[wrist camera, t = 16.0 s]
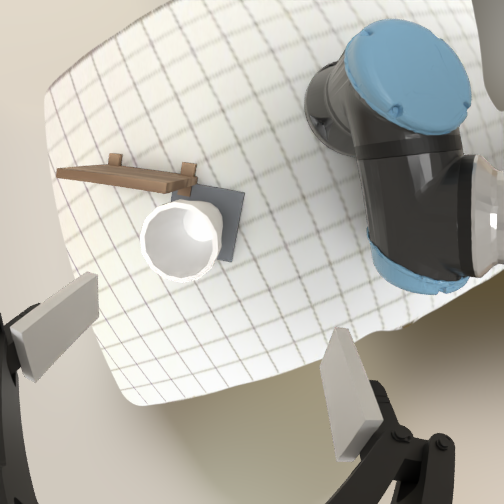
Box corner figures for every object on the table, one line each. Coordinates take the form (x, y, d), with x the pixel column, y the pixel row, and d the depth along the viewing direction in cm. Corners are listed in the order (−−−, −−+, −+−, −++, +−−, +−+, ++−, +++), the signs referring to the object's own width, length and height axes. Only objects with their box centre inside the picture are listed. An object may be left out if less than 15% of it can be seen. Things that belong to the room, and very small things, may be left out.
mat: (175, 180, 44) (173, 180, 44) (244, 192, 44) (244, 193, 44) (166, 247, 48) (165, 248, 47) (231, 261, 48) (231, 262, 47)
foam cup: (243, 235, 46) (233, 262, 33) (192, 260, 47) (166, 294, 35) (214, 179, 43) (191, 186, 31) (163, 208, 45) (126, 226, 33)
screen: (110, 153, 44) (58, 153, 30) (199, 164, 44) (169, 165, 30) (106, 182, 45) (55, 192, 32) (194, 196, 45) (163, 210, 32)
